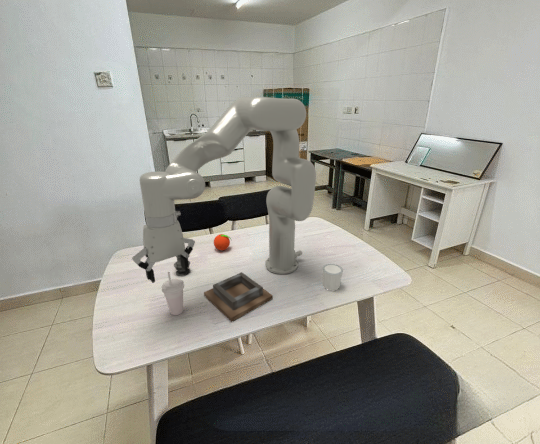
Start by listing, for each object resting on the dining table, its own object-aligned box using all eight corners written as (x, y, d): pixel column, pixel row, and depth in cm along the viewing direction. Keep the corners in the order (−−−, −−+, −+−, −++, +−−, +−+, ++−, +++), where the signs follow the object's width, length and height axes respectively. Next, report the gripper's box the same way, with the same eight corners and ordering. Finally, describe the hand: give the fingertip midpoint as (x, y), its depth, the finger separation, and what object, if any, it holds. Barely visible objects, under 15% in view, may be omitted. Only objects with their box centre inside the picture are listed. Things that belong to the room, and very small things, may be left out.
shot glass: (329, 294, 96) (331, 276, 93) (317, 283, 101) (318, 266, 99) (345, 288, 99) (347, 271, 96) (332, 278, 104) (334, 261, 101)
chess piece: (186, 277, 105) (182, 248, 100) (172, 275, 106) (167, 246, 101) (193, 268, 110) (190, 240, 106) (179, 267, 111) (175, 239, 107)
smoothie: (168, 304, 91) (162, 266, 86) (189, 303, 92) (184, 265, 86) (163, 319, 85) (156, 279, 80) (185, 317, 86) (179, 278, 80)
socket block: (243, 277, 105) (243, 267, 103) (272, 299, 94) (272, 287, 92) (204, 295, 95) (203, 284, 93) (231, 322, 84) (230, 309, 82)
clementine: (234, 246, 127) (233, 231, 124) (230, 253, 121) (229, 238, 118) (216, 245, 128) (215, 230, 125) (212, 252, 121) (210, 237, 119)
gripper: (185, 208, 84) (190, 259, 91) (122, 222, 73) (133, 279, 80) (197, 215, 79) (202, 269, 85) (131, 232, 68) (142, 292, 75)
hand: (168, 274), depth 83 cm, fingers open, 9 cm apart
